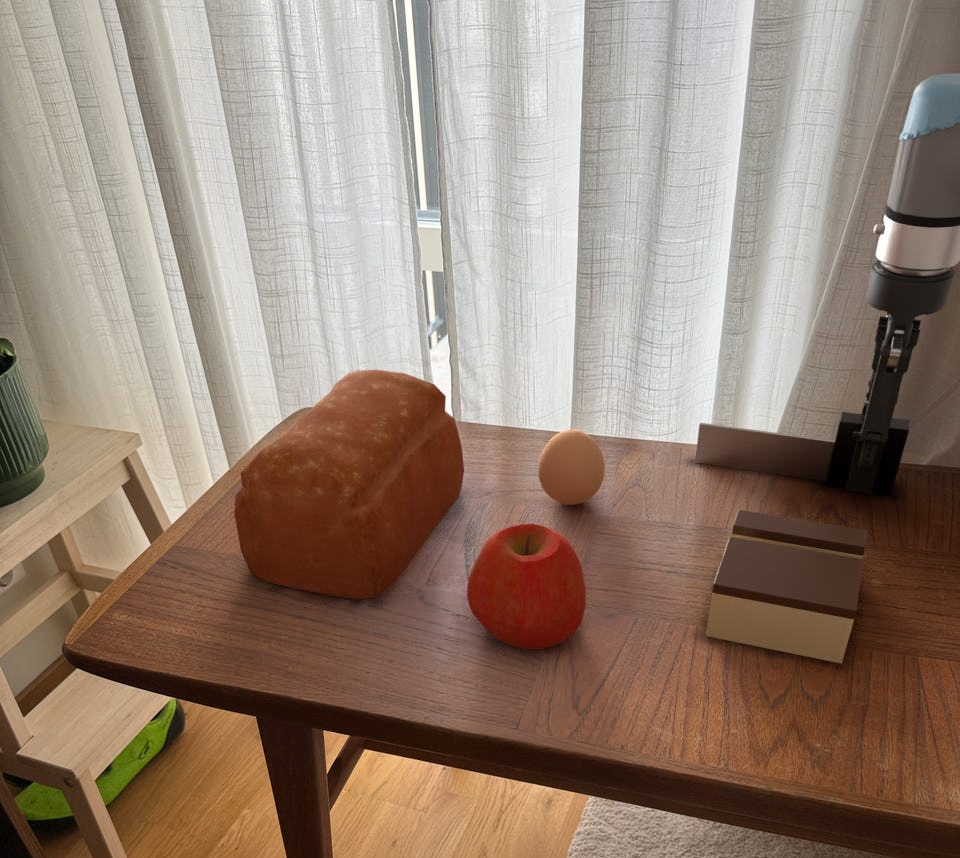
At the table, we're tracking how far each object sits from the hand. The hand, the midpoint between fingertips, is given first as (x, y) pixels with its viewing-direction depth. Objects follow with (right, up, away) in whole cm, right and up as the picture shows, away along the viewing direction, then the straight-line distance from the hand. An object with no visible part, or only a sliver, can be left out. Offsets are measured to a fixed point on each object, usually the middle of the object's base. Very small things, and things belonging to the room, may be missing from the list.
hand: (861, 473), depth 103 cm
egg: (-33, -3, +1) cm, 33 cm away
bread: (-56, -7, -2) cm, 56 cm away
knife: (-7, 0, +3) cm, 8 cm away
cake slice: (-12, -13, -12) cm, 21 cm away
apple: (-38, -18, -16) cm, 45 cm away
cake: (-15, -17, -17) cm, 28 cm away
